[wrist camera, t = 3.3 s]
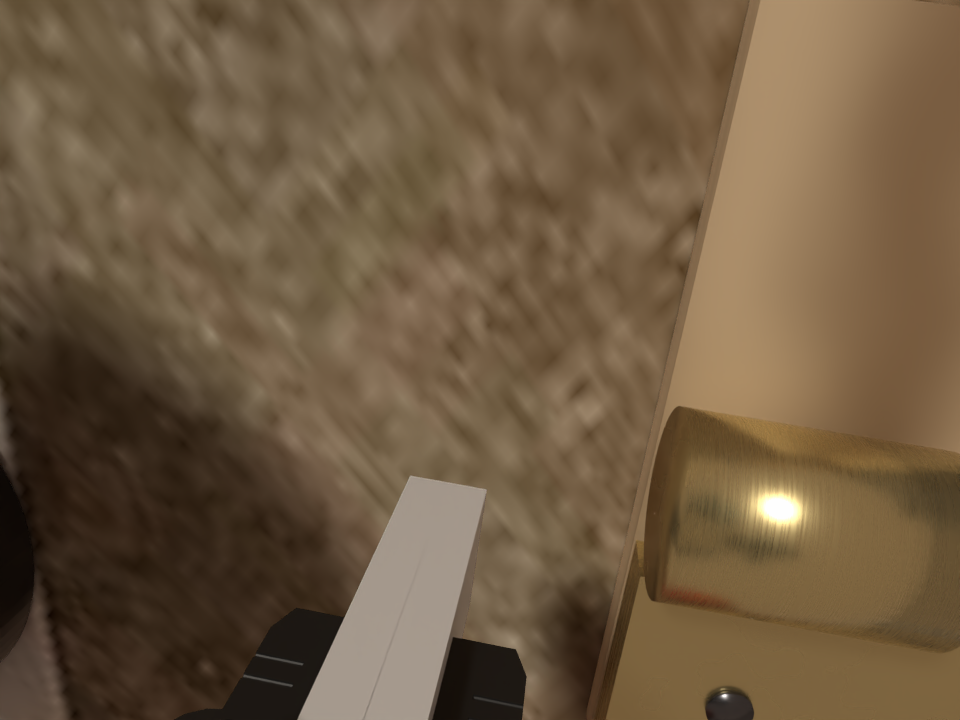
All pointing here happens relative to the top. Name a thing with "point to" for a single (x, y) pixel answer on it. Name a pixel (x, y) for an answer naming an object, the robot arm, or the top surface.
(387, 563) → the robot arm
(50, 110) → the top surface
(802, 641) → the loose leaf
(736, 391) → the board
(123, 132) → the top surface
